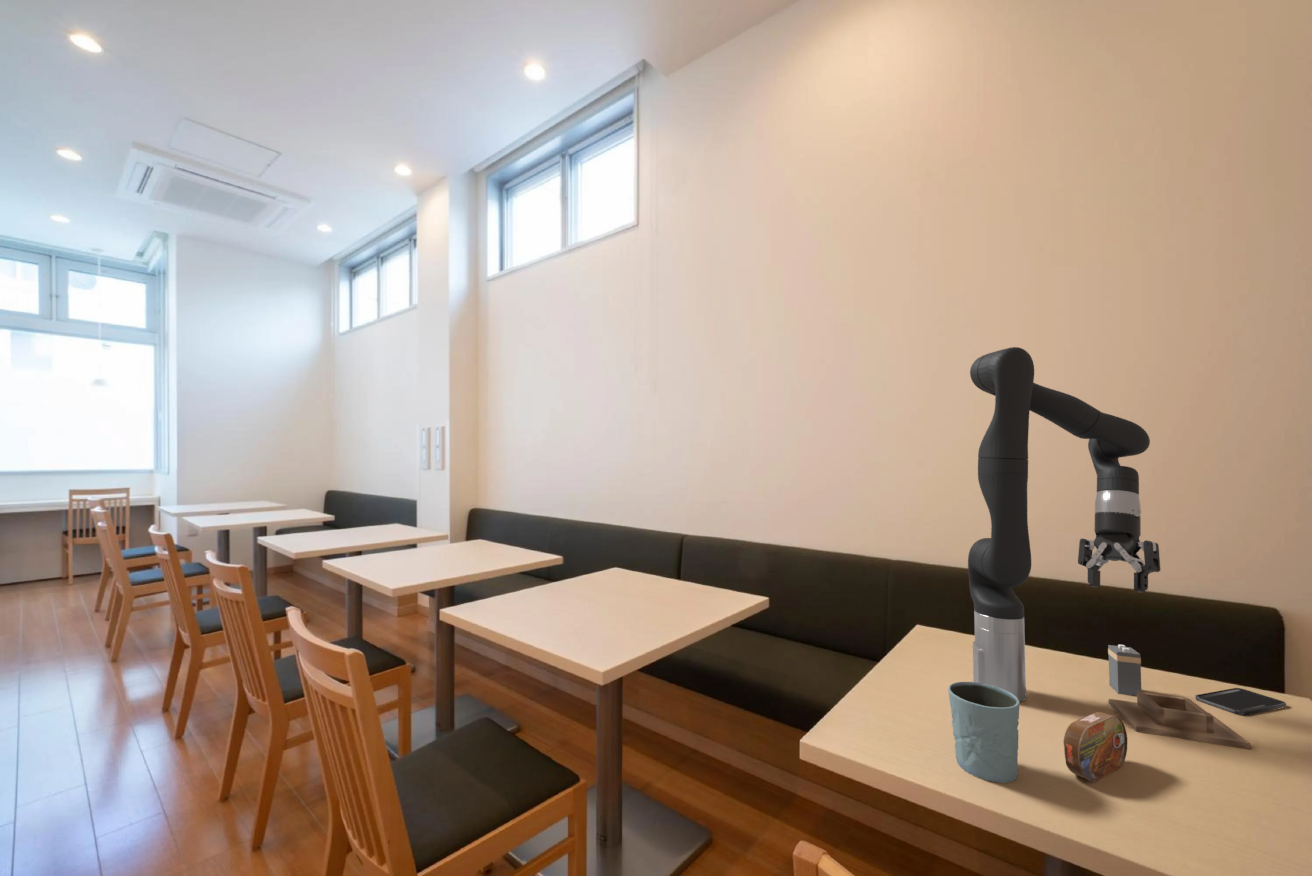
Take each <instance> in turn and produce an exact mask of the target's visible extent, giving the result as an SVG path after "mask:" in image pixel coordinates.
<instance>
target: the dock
mask: <svg viewBox="0 0 1312 876" xmlns="http://www.w3.org/2000/svg"><path fill="white" fill-rule="evenodd" d="M1108 704H1109V705H1110V706H1111V708H1112V709H1113V710H1115V711H1116V713H1118V715H1120V717H1122V719H1124V721H1125V722H1126V723H1127V724H1128V725H1130V727H1131V728H1132V729H1134V730H1135V731H1136V732H1137V733H1144V734H1150V735H1151V734H1152V735H1159V736H1165V737H1170V738H1177V739H1184V740H1190V741H1195V742H1204V743H1210V744H1214V745H1215V744H1216V745H1223V746H1226V747H1227V746H1228V747H1234V748H1241V749H1245V750H1246V749H1247V750H1251V749H1252V743H1251V742H1250V741H1248V740H1247V739H1245V738H1244V737H1243V736H1242V735H1240V734H1238V732H1236V731H1235V730H1233V729H1232V728H1231V727H1230V726H1228V725H1227V724H1226V723H1224V722H1222V721H1221V720H1220V719H1219V718H1217V717H1216V716H1214V715H1213V714H1212V713H1211V712H1208V711H1206V710H1205V709H1204V708H1202V707H1201V706H1200V705H1198V704H1197V703H1195V701H1193V700H1192V699H1190V698H1189V697H1184V696H1183V697H1181V696H1175V695H1168V694H1167V695H1166V694H1159V693H1153V692H1145V691H1141V692H1139V691H1137V696H1136V701H1129V700H1121V699H1113V698H1108Z"/></svg>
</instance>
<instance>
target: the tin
mask: <svg viewBox="0 0 1312 876" xmlns="http://www.w3.org/2000/svg"><path fill="white" fill-rule="evenodd" d="M1124 723H1125V722H1124V721H1123V720H1122V719H1121V718H1120V717H1119V716H1116V715H1112V714H1108V713H1105V712H1101V711H1097V712H1093V713H1091V714H1088V715H1086V716H1083V717H1082V718H1079V719H1077V720H1074V721H1072V722H1071V723H1070V724H1069V725H1068V726H1067V728H1066V730H1065V733H1064V736H1063V747H1064V749H1063V750H1064V759H1065V765H1066V767H1067V769H1068V771H1070V772H1071V773H1072V774H1074V775H1076V776H1078V777H1081V778H1083V779H1086V780H1087V781H1089V782H1093V783H1094V782H1095V783H1096V781H1097V782H1098V780H1101V779H1102V778H1105V777H1106V776H1108V775H1109V774H1110V775H1111V774H1112V773H1114V772H1115V771H1117V770H1120V769H1121V767H1122V766H1123V764H1124V762H1125V760H1126V758H1127V754H1128V753H1127V752H1128V733H1127V730H1126V725H1125V724H1124Z"/></svg>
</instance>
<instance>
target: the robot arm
mask: <svg viewBox="0 0 1312 876" xmlns="http://www.w3.org/2000/svg"><path fill="white" fill-rule="evenodd" d="M1034 365H1035V364H1034V360H1033V358H1032V356H1031V354H1030V353H1029V352H1028V351H1027V350H1025V349H1024V348H1022V347H1017V346H1013V347H1007V348H1004V349H1003V348H1002V349H999V350H996V351H992V352H989V353H987V354H983V355H981V356H979V357H978V358H976V359H975V360H974V362H973V363H972V364H971V366H970V370H969V375H970V379H971V381H972V383H973V385H975V387H977V388H978V389H979V390H981V391H983V392H984V393H987V394H989V395H992V396H994V397H995V402H994V412H993V415H992V419H991V421H990V423H989V425H988V428H987V429H986V430H985V434H983V435H984V436H983V438H982V440H981V442H980V444H979V448H978V453H977V479H978V480H977V481H978V483H979V488H980V491H981V493H982V496H983V499H984V501H985V504H986V506H987V508H988V512H989V514H990V515H989V516H990V524H991V525H990V526H991V528H990V530H991V532H990V537H984V538H983V537H982V538H980V539H978V540H977V541H975V542H974V543H973V544H972V545H971V547H970V549H969V552H968V556H967V558H968V559H967V569H968V570H967V571H968V586H969V594H970V598H971V599H972V602H973V609H974V610H973V611H974V612H973V614H974V619H973V620H974V622H973V623H974V641H973V642H972V664H973V665H972V667H973V668H972V671H973V672H972V674H973V677H972V679H973V681H972V682H977V683H983V684H988V685H992V686H996V687H999V688H1001V689H1003V690H1006V691H1008V692H1010V693H1012V694H1013V695H1015V696H1016V697H1017V698H1018V700H1019V702H1023V701H1026V700H1027V699H1026V698H1027V684H1026V682H1027V681H1026V676H1027V675H1026V641H1025V640H1026V638H1025V606H1024V603H1023V602H1022V601H1021V600H1020V598H1019V597H1018V596H1017V595H1016V593H1015V592H1014V591H1015V590H1014V589H1013V588H1015V587H1018V586H1020V585H1022V584H1023V583H1025V582H1026V581H1027V579H1028V578H1029V577H1030V573H1031V570H1032V551H1031V544H1030V543H1031V542H1030V534H1029V525H1028V523H1029V522H1028V481H1029V479H1028V478H1029V428H1030V427H1029V426H1030V422H1029V421H1030V412H1032V413H1034V414H1036V415H1038V416H1040V417H1042V418H1044V419H1046V420H1048V421H1049V422H1051V423H1052V424H1054V425H1056V426H1057V427H1059V428H1061V429H1063V430H1064V431H1066V432H1068V433H1069V434H1071V435H1073V436H1074V437H1076V438H1079V439H1084V440H1088V443H1087V447H1088V452H1089V455H1090V458H1091V461H1092V465H1093V467H1094V470H1095V474H1096V493H1095V494H1096V495H1095V500H1094V528H1093V529H1094V531H1093V532H1095V539H1094V540H1093V539H1092V540H1091V539H1086V538H1080V539H1079V544H1078V555H1077V556H1078V557H1077V564H1078V565H1081V566H1083V567H1085V568H1087V569H1086V570H1087V584H1089V586H1090V587H1093V588H1098V589H1099V588H1100V587H1101V570H1100V569H1101V568H1102V567H1103V566H1104V565H1105V564H1107V563H1108V562H1109V561H1111V562H1117V561H1121V562H1125V563H1128V564H1129V565H1130V566H1131V568H1133V570H1134V571H1135V572H1133V590H1134V592H1138V593H1143V594H1144V593H1146V591H1147V590H1148V589H1149V574H1152V573H1154V572H1155V573H1159V572H1161V561H1160V558H1161V557H1160V548H1159V546H1160V545H1159V543H1157V542H1154V541H1150V540H1147V539H1146V540H1144V541H1140V537H1141V535H1142V534H1141V527H1142V526H1141V521H1142V520H1141V514H1142V511H1141V509H1142V508H1141V500H1140V477H1139V472H1138V471H1137V470H1136V469H1135V468H1134V467H1131V466H1127V465H1126V466H1125V465H1121V463H1120V462H1119V461H1120V460H1119V459H1120V458H1126V457H1132V456H1138V455H1141V454H1142V453H1144V452H1146V451H1147V450H1148V448H1149V447H1150V443H1151V440H1150V436H1149V434H1148V432H1147V431H1146V430H1145V429H1144V428H1143V427H1142V426H1141V425H1139V424H1137V423H1135V422H1133V421H1131V420H1128V419H1125V418H1122V417H1119V416H1115V415H1112V414H1109V413H1105V412H1102V411H1100V410H1098V409H1097V408H1095V407H1094V406H1093V405H1091V404H1089V403H1087V402H1086V401H1083V400H1082V399H1080V398H1078V397H1076V396H1074V395H1071V394H1069V393H1065V392H1062V391H1060V390H1056V389H1053V388H1049V387H1046V386H1043V385H1040V384H1038V383H1035V381H1034V380H1035V366H1034ZM1095 549H1096V550H1095ZM1094 550H1095V551H1094ZM1141 550H1142V552H1143V558H1144V559H1142V557H1141V556H1140V555H1139V554H1138V553H1139V552H1140V551H1141ZM1093 551H1094V552H1093Z"/></svg>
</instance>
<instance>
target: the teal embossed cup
mask: <svg viewBox="0 0 1312 876" xmlns="http://www.w3.org/2000/svg"><path fill="white" fill-rule="evenodd" d="M947 690H948V691H947V692H948V698H949V705H950V713H951V719H952V720H951V724H952V732H953V733H952V734H953V737H954V741H955V742H954V751H955V759H956V762H957V765H958V766H959V767H960V768H961V769H962V770H964V772H966V773H967V774H969V775H971V776H973V777H976V778H977V779H981V780H983V781H987V782H992V783H1001V784H1002V783H1003V784H1005V783H1006V784H1008V783H1012V782H1014V781H1015V780H1016V779H1017V775H1018V764H1019V763H1018V756H1019V754H1018V753H1019V752H1018V751H1019V729H1018V726H1019V718H1020V702H1021V701H1020V702H1019V700H1018V698H1017V697H1016V696H1015V695H1013V694H1012V693H1010V692H1008V691H1006V690H1003V689H1001V688H999V687H996V686H992V685H988V684H983V683H977V682H973V681H958V682H954V683H951V684H950V685H948V688H947Z"/></svg>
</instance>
